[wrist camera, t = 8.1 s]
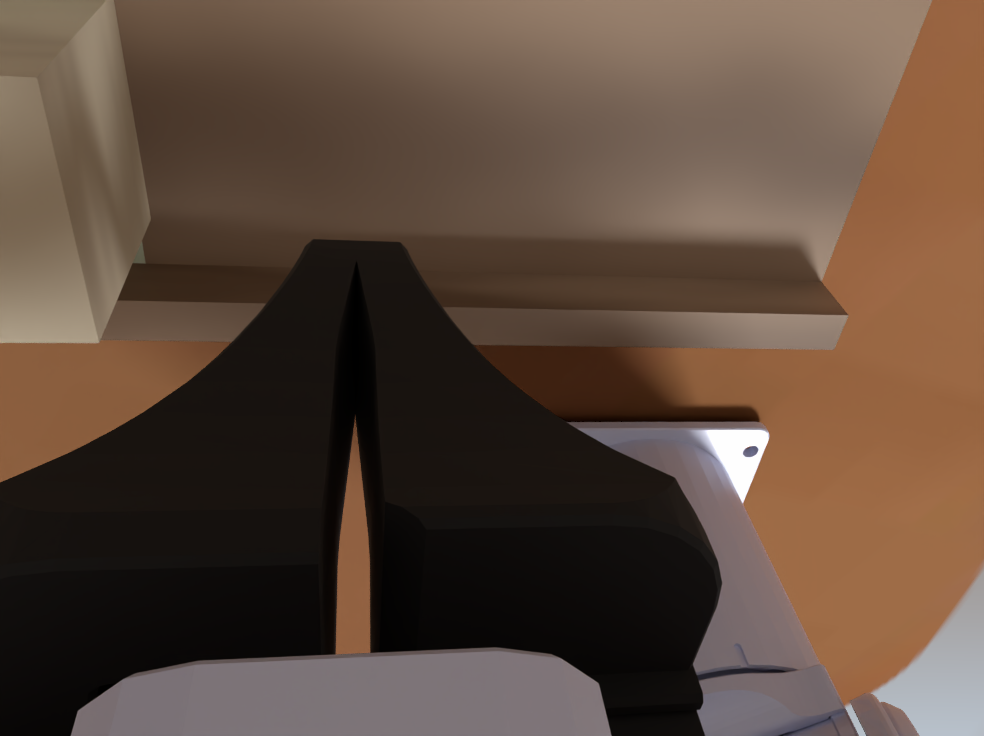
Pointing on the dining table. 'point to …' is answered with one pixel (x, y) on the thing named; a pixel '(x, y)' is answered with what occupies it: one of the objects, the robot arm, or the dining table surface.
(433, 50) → the trap box
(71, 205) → the maple block
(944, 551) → the dining table surface
